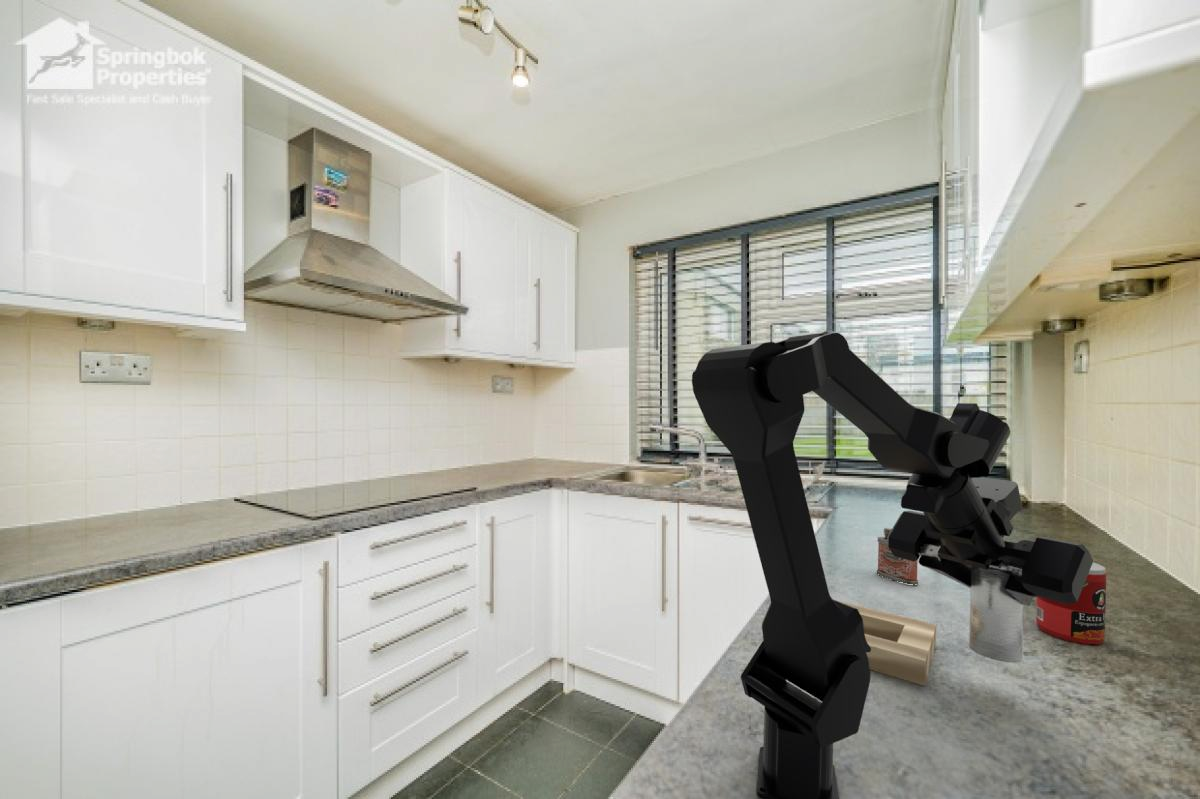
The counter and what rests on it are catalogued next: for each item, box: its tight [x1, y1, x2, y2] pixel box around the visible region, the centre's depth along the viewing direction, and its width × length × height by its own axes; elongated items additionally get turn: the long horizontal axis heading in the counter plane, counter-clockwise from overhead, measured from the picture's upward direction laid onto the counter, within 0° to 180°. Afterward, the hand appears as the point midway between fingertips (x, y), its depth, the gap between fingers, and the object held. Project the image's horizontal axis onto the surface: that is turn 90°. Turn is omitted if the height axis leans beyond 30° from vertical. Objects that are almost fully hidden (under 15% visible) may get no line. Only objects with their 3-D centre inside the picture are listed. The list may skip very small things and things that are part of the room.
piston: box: [968, 563, 1024, 664], centre depth 61 cm, size 5×5×12 cm
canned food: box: [1035, 562, 1107, 646], centre depth 79 cm, size 8×8×11 cm
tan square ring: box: [837, 600, 938, 687], centre depth 72 cm, size 14×14×3 cm
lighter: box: [876, 527, 919, 585], centre depth 103 cm, size 8×3×10 cm, turn 25°
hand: (1002, 594), depth 62 cm, fingers closed on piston, 5 cm apart
